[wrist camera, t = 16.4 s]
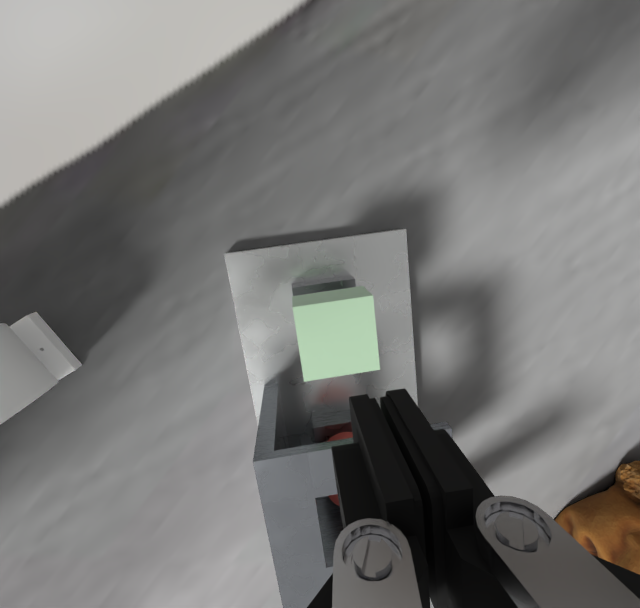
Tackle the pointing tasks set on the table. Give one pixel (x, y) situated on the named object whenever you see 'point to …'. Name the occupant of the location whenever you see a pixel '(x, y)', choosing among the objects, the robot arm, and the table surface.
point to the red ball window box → (313, 386)
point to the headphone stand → (30, 363)
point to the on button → (336, 333)
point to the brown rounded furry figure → (609, 520)
